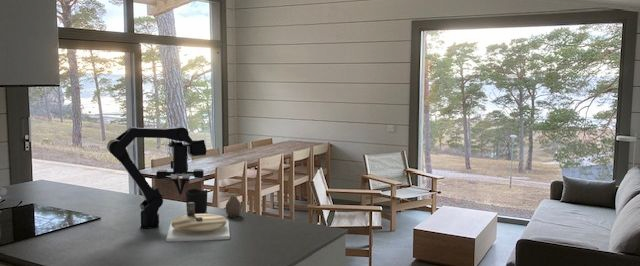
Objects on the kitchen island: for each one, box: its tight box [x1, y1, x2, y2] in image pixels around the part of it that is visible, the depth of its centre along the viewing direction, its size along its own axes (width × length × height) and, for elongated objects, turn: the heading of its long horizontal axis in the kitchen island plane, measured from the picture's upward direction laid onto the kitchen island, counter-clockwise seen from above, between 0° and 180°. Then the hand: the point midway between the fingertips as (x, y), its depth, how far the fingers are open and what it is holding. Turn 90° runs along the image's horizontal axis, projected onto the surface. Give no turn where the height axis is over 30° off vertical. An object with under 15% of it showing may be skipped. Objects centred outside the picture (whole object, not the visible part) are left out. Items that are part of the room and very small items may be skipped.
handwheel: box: [171, 202, 227, 231], centre depth 205 cm, size 22×21×8 cm
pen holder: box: [185, 188, 208, 214], centre depth 234 cm, size 9×9×10 cm
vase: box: [225, 195, 242, 218], centre depth 229 cm, size 7×7×9 cm
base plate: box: [165, 219, 231, 243], centre depth 205 cm, size 23×23×1 cm
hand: (180, 194), depth 216 cm, fingers closed
